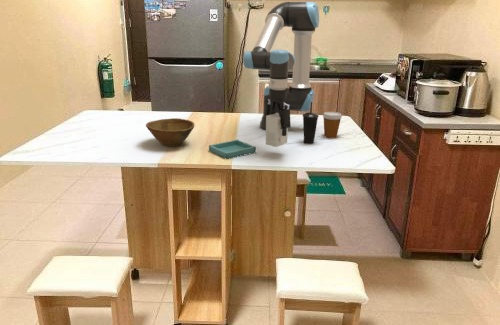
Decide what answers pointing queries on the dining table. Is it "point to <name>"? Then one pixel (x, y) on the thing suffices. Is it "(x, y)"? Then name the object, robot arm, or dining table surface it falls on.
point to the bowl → (170, 130)
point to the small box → (274, 130)
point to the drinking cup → (309, 126)
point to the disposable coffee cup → (331, 124)
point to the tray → (232, 149)
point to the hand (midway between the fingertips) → (276, 140)
